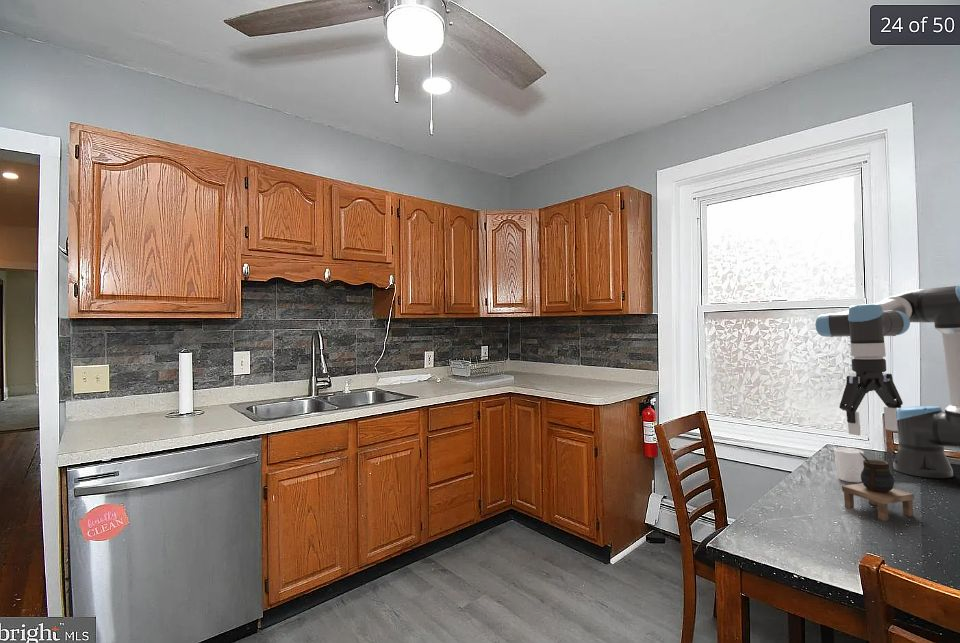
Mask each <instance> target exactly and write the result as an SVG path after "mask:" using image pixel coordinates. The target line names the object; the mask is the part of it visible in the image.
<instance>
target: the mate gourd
mask: <svg viewBox="0 0 960 643" xmlns="http://www.w3.org/2000/svg"><path fill="white" fill-rule="evenodd" d="M859 453H860V452H859ZM860 454H861V455H862V456H863V457H864V461H863V465H864V468H863V471H862V473H861V480H862V482H861V483H863V485H864V486H865V487H866V488H868V489H869V490H872V491H875V492H889V491H890V490H892V489H893V488H894V485H895V479H894V477H893V474H892V473H891V472H890V464H889V462H887V461H885V460H880V459H872V458H871V459H868V457H866V456H865V455H863V454H862V453H860Z"/></svg>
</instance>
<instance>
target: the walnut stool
mask: <svg viewBox="0 0 960 643" xmlns="http://www.w3.org/2000/svg"><path fill="white" fill-rule="evenodd" d="M841 489H842V492H843V496H844V507H845V508H847V509H855V500H854V496H856V497H860V498H863V499H866V500H868V504H871V505H873V506H875V505H876V507H877V519H878V520H881V521H884V522H885V521H889V509H888V508H889V506H888V504H894V503H901V502H902V503H901V504H902V515H904V516H907V517H913V516H914V504H913V503H914V502H913V501H914V500H915V493H911V492H907V491H906V490H905V491H904V490H901V489H897V488H894V487H893V489H892V490H890V491H889V492H875V491H872V490H869V489H868V488H866V487H865V486H864V485H863V482H859V483H854V484H853V483H852V484H848V485H847V484H845V485H842V486H841Z"/></svg>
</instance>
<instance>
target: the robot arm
mask: <svg viewBox="0 0 960 643" xmlns="http://www.w3.org/2000/svg"><path fill="white" fill-rule="evenodd" d="M911 323H934V329H935V330H937V331H938V332H940V333H941V337H942V345H943V352H944V363H945V370H946V377H947V378H946V379H947V386H948V394H949V401H950V402H949V404H948V405H947V406H945V407H944V411H943V409H942V408H941V406H936V405H914V406H903V407H902V405H903V404H904V402H903V399H902V397H901V395H900V393H899V391H898V389H897V387H896V385H895V383H894V379H893V375H892V373H886V372H887V360H886V359H885V357H886V355H887V354H886V346H885V345H886V343H885V337H896V336H900V335H902V334H904V333H906V332H907V331H908V330H909V329H910V326H911ZM814 324H815V330H816V332H817V334H818V335H820V336H821V337H825V338H828V337H829V338H833V337H834V338H836V337H837V338H838V337H841V338H842V337H849V339H850V342H849V343H850V356H851V357H852V359H851V360H850V361H851V369H852V372H855V375H847V376H846V383H845V388H844V390H843V393H842V396H841V401H840V403H839V406H838V408H839V409H840V410H842V411H845V412H846V413H845V414H846V422H847V428H848V435H853V436H861V432H862V431H861V419H860V411H857V410H858V409H859V407H860V405H861V403H862V401H863V400H864V398H865V397H866V394H869V392H875V393H876V395H877V396H878V397H879V399H881V401H882V402H883V404H884V405H885V406H883V416H884V428H885V430H887V431H892V432H897V440H898V449H897V452H896V454H895V457H894V460H893V463H892V464H893V470H895V471H897V472H899V473H902V474H907V475H910V476H916V477H922V478H930V479H931V478H932V479H949V478H953V477H954V470H953V468H952V465H951V464H950V461H949V459H948V457H947V455H946V454H945V447H947V448H948V447H949V448H954V449H955V448H956V449H960V284H959V285H952V286H942V287H931V288H919V289H915V290H914V289H913V290H908V291H906V292H902V293H899V294H895V295H892V296H888V297H885V298H884V299H882V300H881V301H880V302H876V303H867V304H856V305H855V304H853V305H850V306H849V308H848V310H845V311H842V312H841V311H840V312H837V313H825V314H820V315H818V316H817V318H816V320H815V323H814Z"/></svg>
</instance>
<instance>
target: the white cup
mask: <svg viewBox="0 0 960 643" xmlns="http://www.w3.org/2000/svg"><path fill="white" fill-rule="evenodd" d="M833 452H834V459H835V466H836V472H837V478H838V479H839V480H841V481H844V482H849V483H855V484H860V483H863V482H862V480H861V473H862V471H863V468H864V465H863V461H864V460H865V458H864V457H863V456H862V455H861V454H860V453H862V454H863V455H864V453H865V452H864V451H863V450H861V449H859V448H858V449H857V448H852V447H835V448H833ZM859 452H860V453H859ZM864 456H865V455H864Z"/></svg>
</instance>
